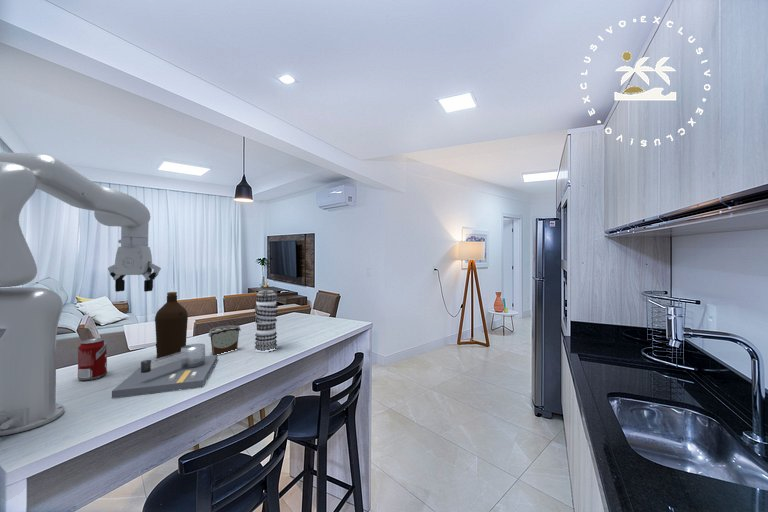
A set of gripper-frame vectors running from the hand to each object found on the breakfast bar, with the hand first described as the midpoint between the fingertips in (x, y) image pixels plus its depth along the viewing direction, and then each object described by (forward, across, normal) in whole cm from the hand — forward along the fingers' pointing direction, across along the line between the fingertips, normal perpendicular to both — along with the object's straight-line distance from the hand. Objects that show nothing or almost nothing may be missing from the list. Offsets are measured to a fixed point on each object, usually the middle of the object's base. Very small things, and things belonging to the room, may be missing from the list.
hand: (134, 291), depth 107 cm
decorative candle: (+27, +40, +19) cm, 52 cm away
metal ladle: (+25, +20, -10) cm, 34 cm away
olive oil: (+27, +5, +12) cm, 30 cm away
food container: (+27, +23, +17) cm, 39 cm away
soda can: (+27, -6, -9) cm, 29 cm away
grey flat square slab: (+27, +19, -9) cm, 34 cm away
